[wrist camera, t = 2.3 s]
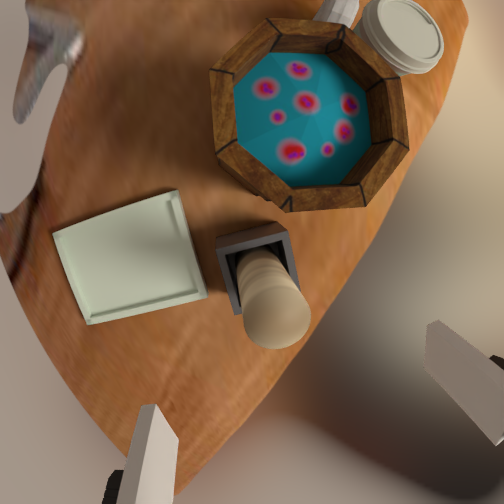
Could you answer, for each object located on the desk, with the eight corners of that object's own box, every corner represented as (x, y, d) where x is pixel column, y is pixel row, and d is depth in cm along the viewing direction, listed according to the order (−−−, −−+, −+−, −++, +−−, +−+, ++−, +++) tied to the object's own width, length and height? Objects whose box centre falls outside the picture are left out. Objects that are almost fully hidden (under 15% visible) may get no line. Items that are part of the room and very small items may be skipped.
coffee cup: (399, 69, 29) (458, 41, 17) (367, 109, 30) (428, 86, 18) (350, 23, 27) (395, -21, 15) (312, 60, 28) (353, 13, 16)
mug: (313, 215, 33) (379, 246, 18) (195, 177, 30) (171, 179, 16) (359, 64, 28) (431, 16, 14) (252, 23, 26) (271, -58, 12)
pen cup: (216, 237, 32) (215, 249, 27) (277, 221, 32) (287, 230, 27) (232, 293, 34) (234, 315, 29) (289, 278, 34) (301, 296, 29)
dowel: (230, 246, 32) (236, 299, 18) (270, 236, 32) (304, 281, 18) (240, 284, 33) (253, 355, 19) (279, 273, 33) (315, 338, 19)
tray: (57, 231, 30) (52, 233, 29) (178, 189, 30) (176, 190, 29) (91, 320, 33) (87, 325, 32) (208, 292, 34) (208, 297, 32)
